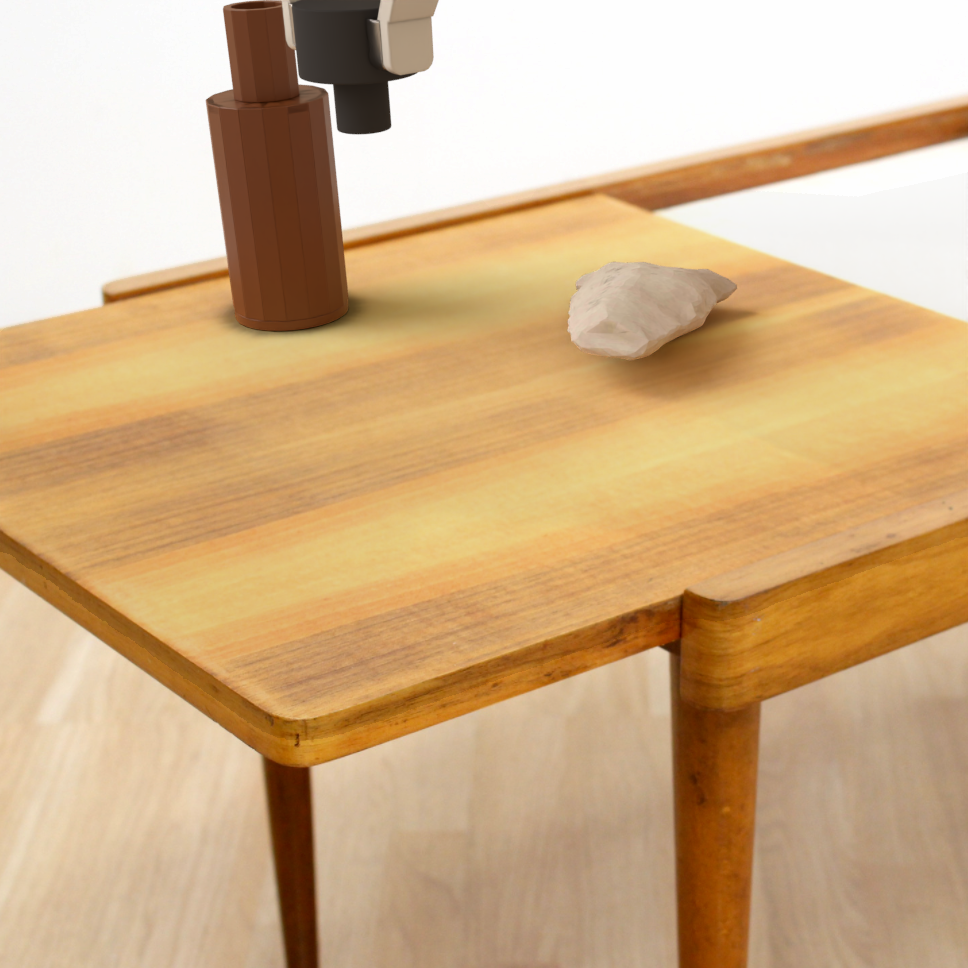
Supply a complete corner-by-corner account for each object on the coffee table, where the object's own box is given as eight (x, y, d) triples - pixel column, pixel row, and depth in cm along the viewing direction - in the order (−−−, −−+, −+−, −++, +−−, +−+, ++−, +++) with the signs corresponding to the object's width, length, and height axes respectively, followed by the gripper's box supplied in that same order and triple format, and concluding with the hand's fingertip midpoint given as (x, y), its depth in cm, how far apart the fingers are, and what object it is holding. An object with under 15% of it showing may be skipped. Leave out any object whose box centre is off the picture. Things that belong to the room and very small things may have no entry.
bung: (345, 148, 54) (332, 14, 52) (282, 129, 58) (268, 2, 56) (447, 128, 57) (439, -1, 55) (382, 110, 60) (372, -12, 58)
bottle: (270, 339, 91) (230, 19, 83) (215, 311, 96) (172, 7, 87) (370, 312, 94) (341, 3, 86) (312, 287, 99) (279, -8, 91)
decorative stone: (742, 239, 91) (693, 323, 78) (739, 309, 93) (691, 402, 80) (580, 228, 93) (508, 308, 80) (581, 297, 95) (510, 386, 82)
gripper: (95, -363, 55) (151, 39, 62) (416, -416, 41) (447, 115, 47) (252, -361, 59) (290, 19, 65) (599, -410, 44) (605, 85, 51)
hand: (358, 60), depth 56 cm, fingers closed on bung, 4 cm apart
